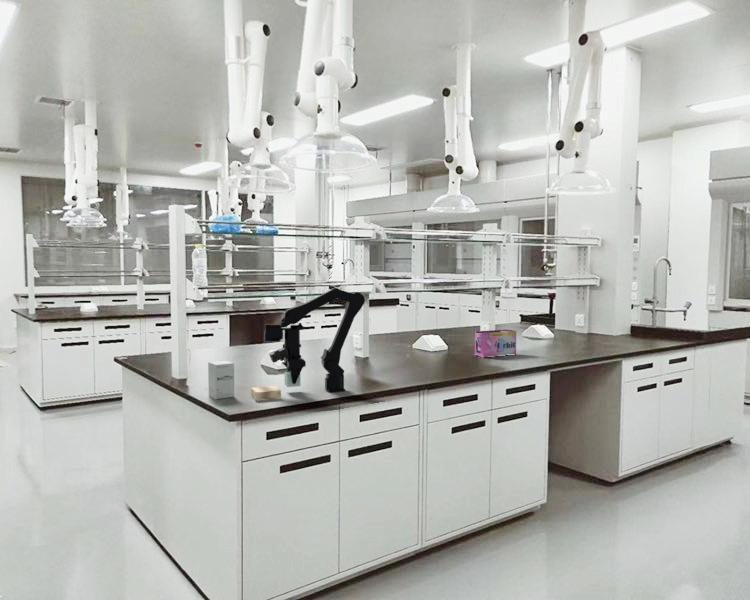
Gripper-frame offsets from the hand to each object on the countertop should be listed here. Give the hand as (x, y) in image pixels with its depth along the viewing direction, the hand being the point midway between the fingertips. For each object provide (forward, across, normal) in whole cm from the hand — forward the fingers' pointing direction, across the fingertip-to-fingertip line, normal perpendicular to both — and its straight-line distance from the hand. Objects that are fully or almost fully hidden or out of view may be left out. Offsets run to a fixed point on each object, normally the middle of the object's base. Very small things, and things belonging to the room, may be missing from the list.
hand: (292, 382), depth 209 cm
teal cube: (+1, 0, 0) cm, 1 cm away
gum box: (+4, -51, +121) cm, 132 cm away
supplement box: (+4, -2, -26) cm, 26 cm away
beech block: (+4, +5, -11) cm, 13 cm away
